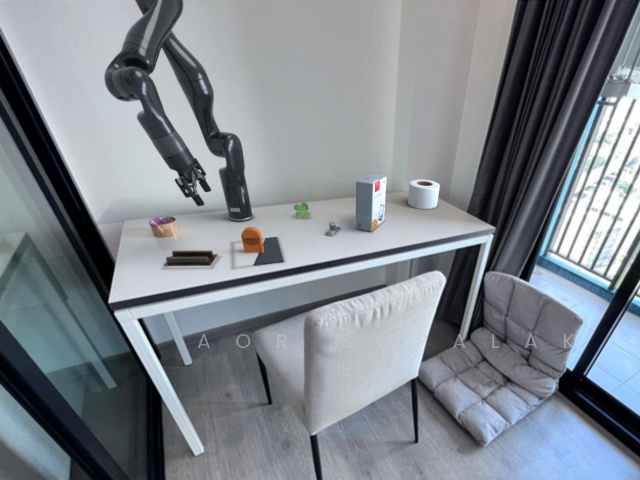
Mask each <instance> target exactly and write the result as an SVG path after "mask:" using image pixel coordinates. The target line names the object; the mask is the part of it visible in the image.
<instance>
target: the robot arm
mask: <svg viewBox="0 0 640 480" xmlns="http://www.w3.org/2000/svg"><path fill="white" fill-rule="evenodd" d="M134 2H135V3H136V5H137V7H138V9H139V10H140V12H141V15H142V16H141V17H140V18H139V19H138V20H137V21H135V22H134V23H133V24H132V25H131V26H130V27H129V29H128V31H127V32H126V35H125V37H124V39H123V43H122V46H121V49H120V51H119V52H118V53H117V54H116V55H115V56H114V58H113V59H112V60H111V61H110V63H109V64H108V65H107V67H106V69H105V71H104V76H103V78H104V79H103V80H104V85H105V88H106V89H107V91H108V92H109V94H110V95H111V96H112V97H114V98H115V99H116V100H119V101H121V102H125V103H131V102H138V101H139V102H140V104H141V107H142V110H140V111H138V112H137V114H136V120H137V122H138V123H139V125H140V126H141V128H142V129H143V130H144V133H146V136H147V137H148V138H149V140H150V141H151V143H152V145H153V147H154V148H155V149H156V151H157V153H158V154H159V156H160V157H161V158H162V160H163V161H164V163H165V164H166V165H167V167H168V168H169V169H170V170H172V171H175V172H176V173H177V175H178V177H177V178H174V182H175V184H176V186H177V187H178V188H179V190H180V191H181V193H182V195H183V196H184V197H185V198H186V199H188V198H191V199H192V200H193V202H194V204H195V205H196V206H197V207H204V206H205V202H204V199H202V197H201V196H200V194H199V193H198V189H197V187H198V184H199V185H200V187H201V188H202V190H203V192H204V193H209V192H212V188H211V186H210V185H209V183H208V182H207V178H206V176H207V172H206V171H205V169H204V167H203V166H202V165H201V164H200V162H199V160H198V159H197V157H194V155H193V154H192V152H191V150H190V148H188V145H187V144H186V142H185V141H184V139H183V138H182V136H181V135H180V133H179V132H178V131H177V130H176V128H175V127H174V125H173V123H172V122H171V120H170V119H169V117H168V115H167V114H166V111H165V107H164V105H163V102H162V100H161V97H160V94H159V91H158V89H157V85H156V83H155V82H154V80H153V78H152V77H151V76H150V75H152V74H153V73H154V71H155V69H156V67H157V64H158V60H159V56H160V53H161V50H162V52H163V54H164V56H165V57H166V59H167V61H168V63H169V66H170V67H171V69H172V72H173V74H174V76H175V78H176V81H177V83H178V85H179V87H180V89H181V91H182V93H183V94H184V96H185V98H186V100H187V103H188V104H189V107H190V109H191V110H192V114H193V115H194V118H195V119H196V122H197V125H198V126H199V129H200V132H201V135H202V137H203V140H204V143H205V145H206V147H207V149H208V151H209V152H210V153H211V154H212V155H213V156H215V158H216V157H217V158H221V159H225V166H222V167H220V168H219V169H218V175H219V179H220V184H221V188H222V192H223V196H224V201H225V205H226V209H227V213H228V218H229V220H231V221H233V222H246V221H250V220H251V219H253V218H254V214H253V210H252V205H251V200H250V194H249V190H248V189H249V188H248V184H247V179H246V174H245V173H246V172H245V170H246V165H245V163H246V162H245V157H244V156H245V155H244V150H243V145H242V141H241V139H240V137H239V136H238V135H237V134H236V133H232V132H229V131H222V130H220V128H219V126H218V124H217V122H216V119H215V116H214V104H215V103H214V102H215V93H214V88H213V86H212V83H211V81H210V78H209V76H208V74H207V71H206V69H205V68H204V66H203V64H202V63H201V62H200V61H199V59H197V57H195V55H193V53H192V52H191V51H190V50H189V49H188V48H187V47H186V46H185V45H184V44H183V42H181V41H180V40H179V38H178V37H177V36H176V34H175V33H174V31H173V30H174V29H173V28H174V27H175V26H176V24H177V22H178V21H179V19H180V18H181V16H182V14H183V13H184V6H185V3H184V0H134ZM197 182H198V183H197Z"/></svg>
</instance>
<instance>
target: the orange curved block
mask: <svg viewBox="0 0 640 480" xmlns="http://www.w3.org/2000/svg"><path fill="white" fill-rule="evenodd" d="M240 237H241V242H242V246H243V251H244V253H246V254H247V253H251V254H252V253H253V254H256V253H257V254H259V253H263V252H264V246H263V242H264V240H263V237H262V233H261V231H260V230H259V229H258V228H257V227H254V226H247V227H245V228H244V229H243V231H242V232H241V234H240Z"/></svg>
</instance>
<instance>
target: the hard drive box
mask: <svg viewBox="0 0 640 480" xmlns="http://www.w3.org/2000/svg"><path fill="white" fill-rule="evenodd" d="M386 192H387V176H386V175H381V174H375V173H369V174H368V175H365V176H364V177H361V178H360V179H357V180H356V181H355V229H357V230H361V231H365V232H366V231H367V232H372V231H373V230H375V229H376V228H377V227H378V226H380V225H381V224H382V223H383V222H384V221H385V212H386V211H385V209H386V194H387V193H386Z"/></svg>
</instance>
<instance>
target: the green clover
mask: <svg viewBox="0 0 640 480" xmlns="http://www.w3.org/2000/svg"><path fill="white" fill-rule="evenodd" d="M309 208H310V207H309V205H308V203H306V202H301V203H300V204H298V203H295V204H294V205H293V210H294V211H296V212H295V214H294V215H295V217H296V218H297V219H302V218H303V219H309V218H310V217H311V216H312V214H311V212H310V211H309Z"/></svg>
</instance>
